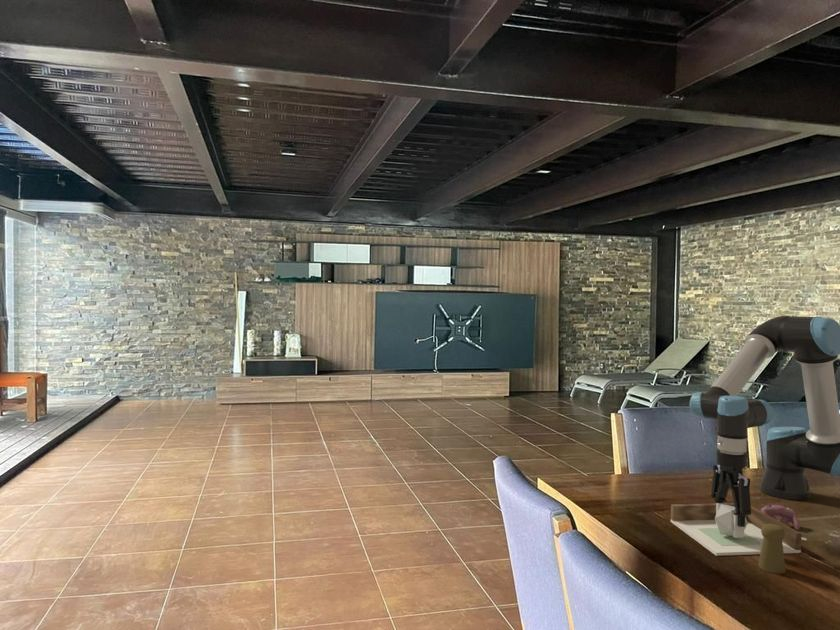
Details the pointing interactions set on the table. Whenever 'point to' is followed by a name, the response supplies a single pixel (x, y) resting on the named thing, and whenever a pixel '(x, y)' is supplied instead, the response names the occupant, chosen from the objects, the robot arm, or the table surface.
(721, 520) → the die
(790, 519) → the video game controller
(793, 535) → the wooden corner tray
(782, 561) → the olive pawn figure
